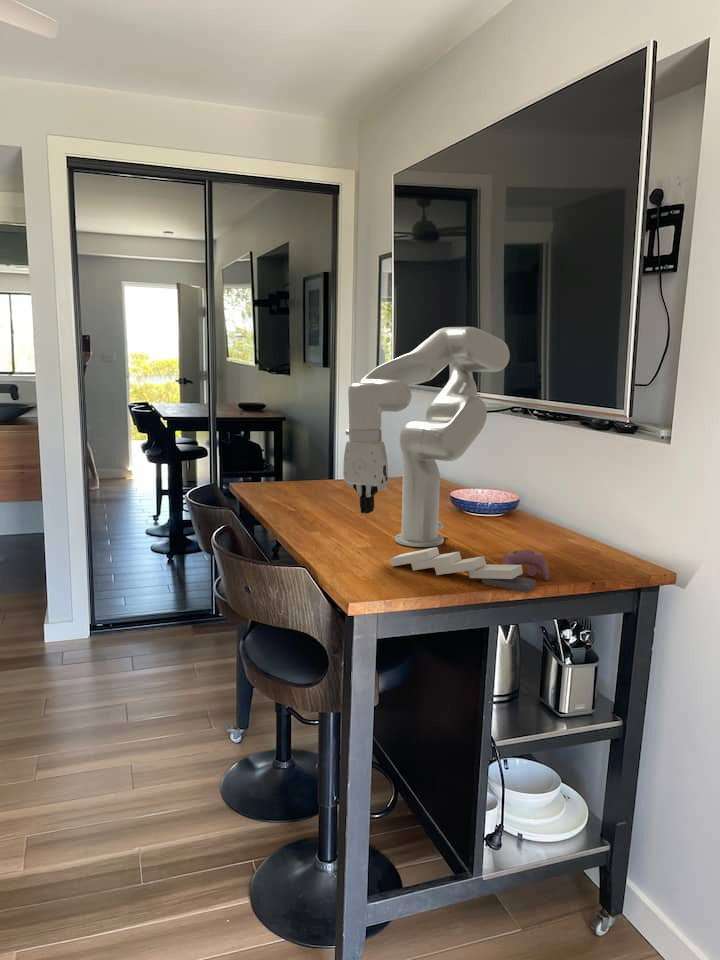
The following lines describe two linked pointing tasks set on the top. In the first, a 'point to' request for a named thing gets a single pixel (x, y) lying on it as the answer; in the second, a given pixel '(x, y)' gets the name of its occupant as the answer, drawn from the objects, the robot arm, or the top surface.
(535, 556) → the video game controller
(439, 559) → the domino
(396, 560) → the domino
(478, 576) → the domino
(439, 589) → the top surface
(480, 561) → the domino
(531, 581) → the domino
